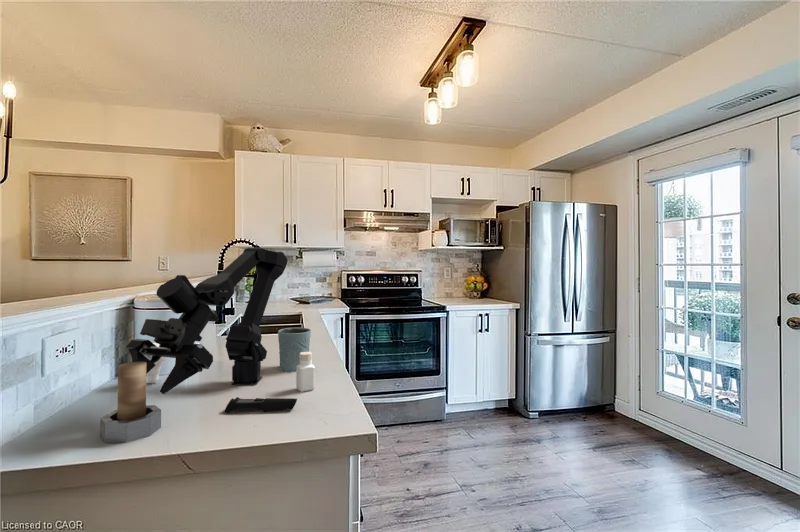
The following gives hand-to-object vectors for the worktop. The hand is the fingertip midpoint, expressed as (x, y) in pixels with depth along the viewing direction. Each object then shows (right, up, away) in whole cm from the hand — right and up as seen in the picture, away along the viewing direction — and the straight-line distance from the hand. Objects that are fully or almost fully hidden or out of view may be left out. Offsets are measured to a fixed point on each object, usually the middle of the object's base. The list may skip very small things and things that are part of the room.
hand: (143, 390), depth 75 cm
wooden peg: (-1, -7, -2) cm, 8 cm away
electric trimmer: (+20, -8, +9) cm, 23 cm away
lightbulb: (-16, -7, +28) cm, 33 cm away
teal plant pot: (+18, -8, +44) cm, 48 cm away
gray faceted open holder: (-1, -7, -2) cm, 8 cm away
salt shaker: (+26, -8, +24) cm, 36 cm away
